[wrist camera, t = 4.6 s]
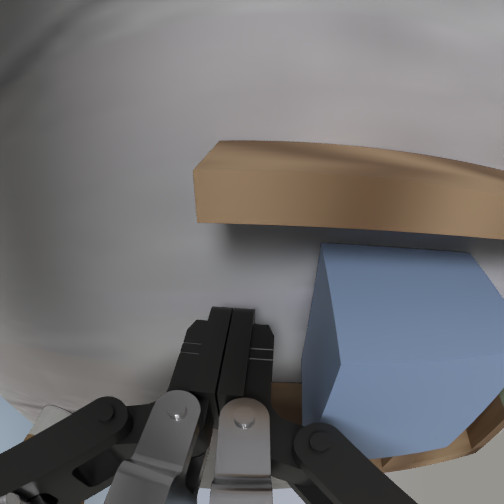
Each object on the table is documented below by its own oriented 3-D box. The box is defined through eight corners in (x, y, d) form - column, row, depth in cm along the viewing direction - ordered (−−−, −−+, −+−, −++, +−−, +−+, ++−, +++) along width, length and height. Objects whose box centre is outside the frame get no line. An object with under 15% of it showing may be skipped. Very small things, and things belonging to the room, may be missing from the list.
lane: (239, 435, 18) (234, 475, 16) (219, 140, 9) (193, 170, 6) (491, 414, 17) (501, 444, 14) (611, 205, 7) (643, 234, 5)
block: (321, 242, 10) (340, 364, 6) (469, 253, 10) (533, 347, 6) (301, 359, 13) (301, 462, 9) (421, 358, 13) (446, 447, 9)
